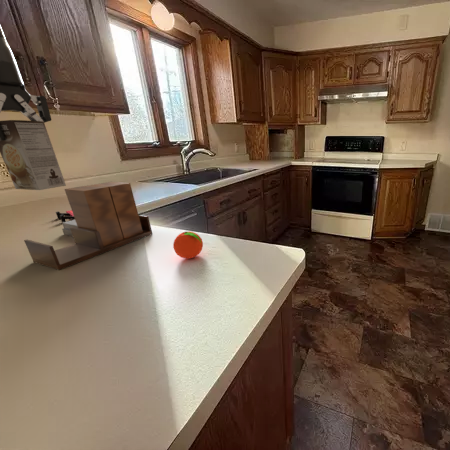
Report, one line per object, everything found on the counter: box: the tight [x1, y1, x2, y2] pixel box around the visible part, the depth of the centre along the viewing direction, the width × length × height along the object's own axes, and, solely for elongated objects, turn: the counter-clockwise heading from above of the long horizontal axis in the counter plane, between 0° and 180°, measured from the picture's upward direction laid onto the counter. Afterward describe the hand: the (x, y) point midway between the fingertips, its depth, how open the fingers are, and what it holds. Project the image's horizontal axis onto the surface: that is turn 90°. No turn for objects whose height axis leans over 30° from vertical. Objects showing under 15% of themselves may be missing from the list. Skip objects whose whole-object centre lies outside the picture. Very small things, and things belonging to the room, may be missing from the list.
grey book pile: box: [61, 219, 78, 237], centre depth 83 cm, size 8×11×4 cm
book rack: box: [23, 181, 153, 271], centre depth 69 cm, size 25×12×17 cm, turn 157°
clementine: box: [172, 230, 204, 259], centre depth 62 cm, size 8×7×7 cm
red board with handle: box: [55, 209, 75, 223], centre depth 100 cm, size 30×3×15 cm
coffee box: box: [0, 119, 67, 191], centre depth 61 cm, size 9×6×16 cm
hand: (22, 139), depth 60 cm, fingers closed on coffee box, 6 cm apart
